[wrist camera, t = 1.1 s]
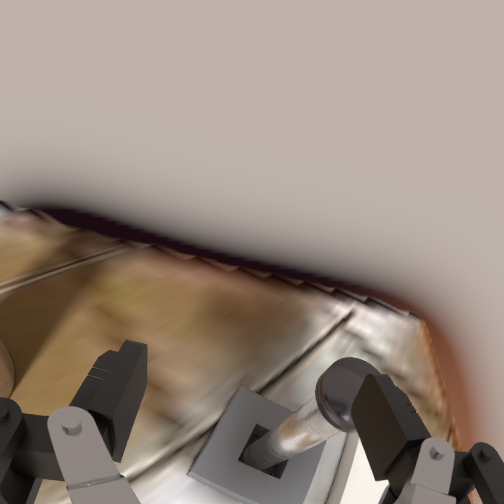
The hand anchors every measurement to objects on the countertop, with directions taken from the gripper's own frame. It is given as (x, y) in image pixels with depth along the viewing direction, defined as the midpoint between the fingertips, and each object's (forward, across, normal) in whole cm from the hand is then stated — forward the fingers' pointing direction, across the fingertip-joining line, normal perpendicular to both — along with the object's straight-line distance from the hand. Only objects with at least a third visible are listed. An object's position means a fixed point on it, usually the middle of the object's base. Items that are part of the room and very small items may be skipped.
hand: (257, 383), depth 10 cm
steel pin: (+12, -5, +21) cm, 24 cm away
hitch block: (+12, -5, +21) cm, 24 cm away
